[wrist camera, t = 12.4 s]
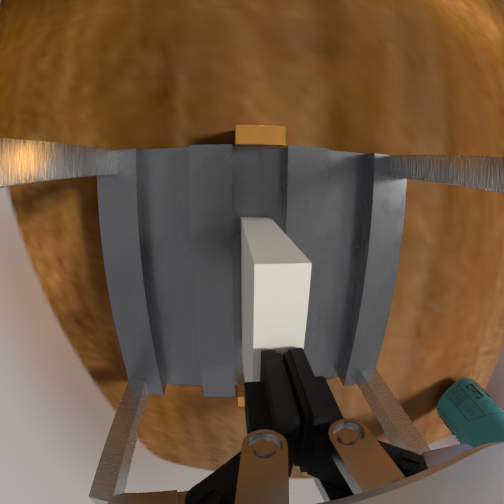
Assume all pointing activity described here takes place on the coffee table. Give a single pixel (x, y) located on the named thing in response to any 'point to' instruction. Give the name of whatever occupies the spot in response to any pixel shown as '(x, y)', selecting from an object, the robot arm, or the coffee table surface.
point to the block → (271, 293)
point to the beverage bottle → (471, 414)
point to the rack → (229, 259)
